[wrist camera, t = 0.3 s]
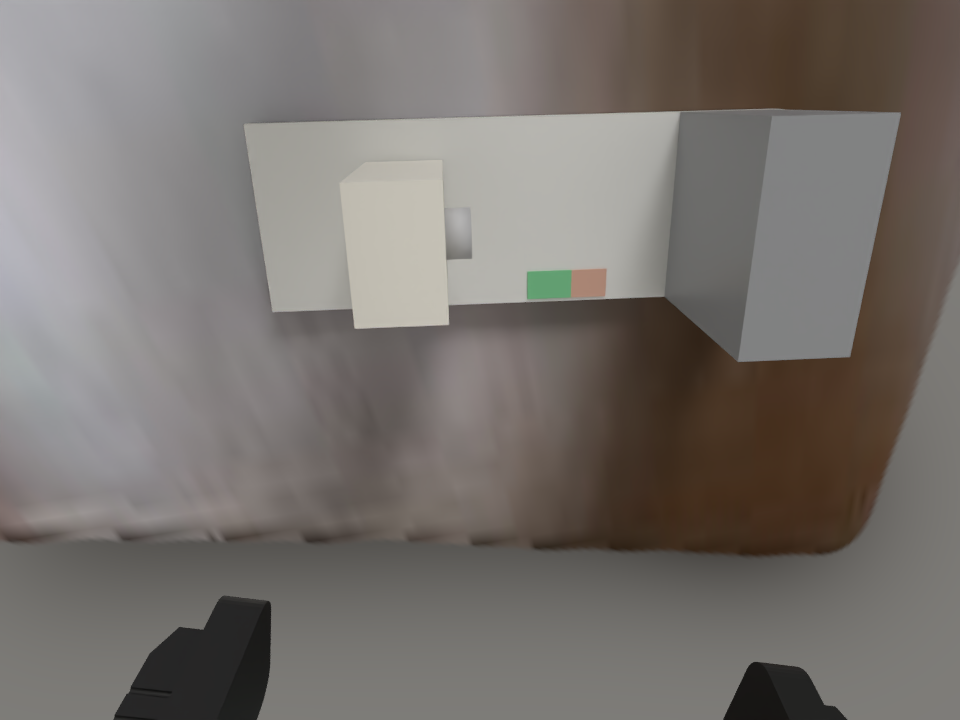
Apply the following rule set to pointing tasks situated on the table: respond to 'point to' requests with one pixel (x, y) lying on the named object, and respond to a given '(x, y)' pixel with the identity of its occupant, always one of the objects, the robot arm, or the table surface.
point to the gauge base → (611, 213)
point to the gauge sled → (401, 243)
